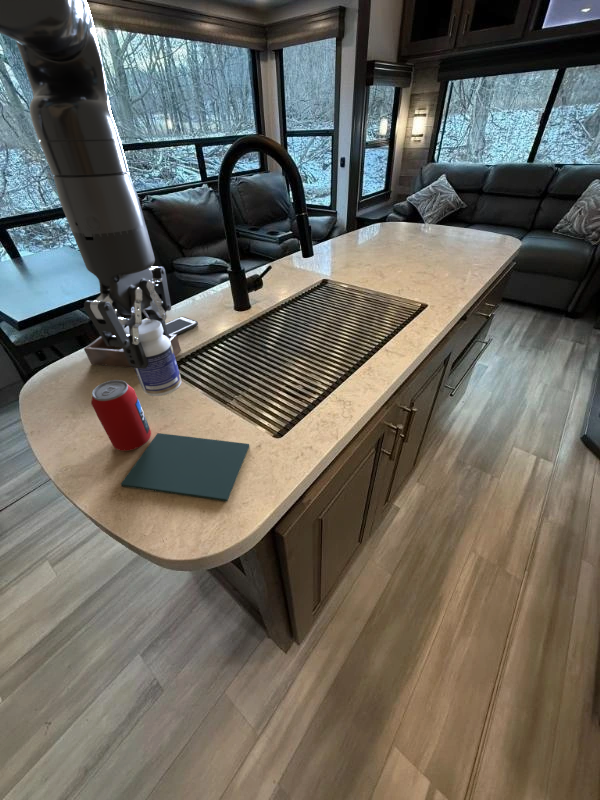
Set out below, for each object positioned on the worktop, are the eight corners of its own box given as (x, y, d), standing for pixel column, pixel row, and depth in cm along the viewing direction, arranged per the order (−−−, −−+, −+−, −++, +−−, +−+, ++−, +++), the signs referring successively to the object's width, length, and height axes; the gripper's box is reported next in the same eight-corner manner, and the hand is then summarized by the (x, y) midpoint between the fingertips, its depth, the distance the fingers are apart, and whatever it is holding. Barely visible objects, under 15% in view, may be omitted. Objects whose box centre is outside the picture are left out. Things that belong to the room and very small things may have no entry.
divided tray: (91, 364, 83) (83, 348, 81) (115, 344, 91) (109, 329, 88) (162, 370, 81) (157, 354, 78) (180, 350, 88) (176, 334, 86)
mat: (121, 486, 54) (120, 484, 53) (158, 435, 63) (157, 432, 63) (227, 501, 51) (226, 499, 51) (249, 446, 60) (249, 443, 60)
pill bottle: (190, 382, 51) (174, 322, 45) (160, 402, 47) (138, 340, 41) (165, 371, 54) (146, 313, 47) (134, 389, 50) (110, 329, 44)
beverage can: (160, 432, 63) (140, 381, 56) (135, 457, 58) (110, 405, 51) (131, 425, 65) (109, 374, 58) (105, 448, 60) (77, 396, 53)
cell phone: (199, 324, 100) (199, 321, 99) (158, 344, 91) (157, 341, 90) (183, 318, 103) (182, 315, 103) (141, 337, 94) (140, 333, 94)
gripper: (116, 211, 43) (153, 330, 53) (26, 237, 32) (96, 381, 42) (170, 212, 42) (197, 333, 52) (97, 239, 31) (150, 387, 41)
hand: (152, 354), depth 47 cm, fingers closed on pill bottle, 5 cm apart
